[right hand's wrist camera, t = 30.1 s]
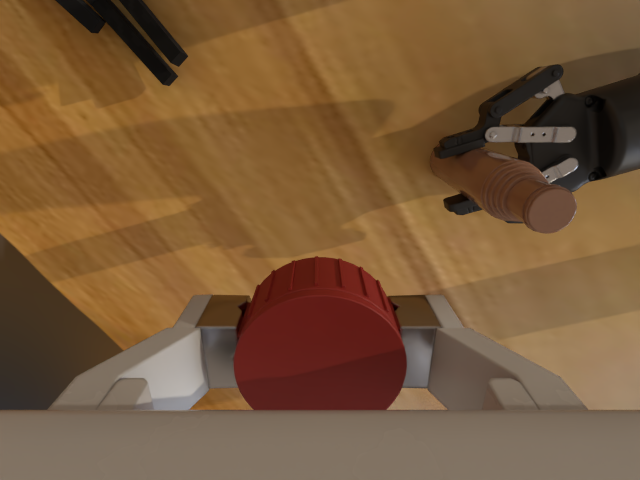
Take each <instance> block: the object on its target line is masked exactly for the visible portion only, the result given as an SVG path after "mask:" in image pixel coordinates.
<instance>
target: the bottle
mask: <svg viewBox="0 0 640 480" xmlns="http://www.w3.org/2000/svg"><path fill="white" fill-rule="evenodd" d="M438 146H440V144H439V145H437V146H436V147H438ZM430 165H431V169H432V171H433V173H434V174H435V175H436V176H437V177H439V178H440V179H442V180H443V181H444V182H446V183H447V184H449V185H450V186H451V187H453V188H454V189H455V190H457V191H458V192H460V193H461V194H462V195H464V196H465V197H466V198H468V199H469V200H471V201H472V202H473V203H475V204H476V205H478V206H479V207H480V208H482V209H483V210H484V211H486V212H487V213H489V214H490V215H491V216H493V217H495V218H498V219H501V220H505V221H519V222H523V223H525V225H526V226H527V227H528V228H530V229H531V230H533V231H536V232H540V233H554V232H557V231H560V230H561V229H563V228H565V227H566V226H567V225H568V224H569V223H570V222H571V221H572V219H573V218H574V216H575V213H576V209H577V204H576V200H575V198H574V196H573V194H572V193H571V192H570V191H569V190H568V189H566V188H564V187H561V186H559V185H555V184H549V182H548V181H547V179H546V178H545V177H544V175H543V174H542V173H541V171H540V170H539V169H538V168H537V167H535V166H534V165H532V164H531V163H529V162H526V161H523V160H520V159H517V158H514V157H511V156H508V155H505V154H502V153H498V152H495V151H492V150H489V149H486V148H483V147H481V148H478V149H474V150H471V151H468V152H465V153H461V154H458V155H455V156H452V157H448V158H445V159H439V158H437V157H435V154H434V150H433V152H432V155H431V158H430Z"/></svg>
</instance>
